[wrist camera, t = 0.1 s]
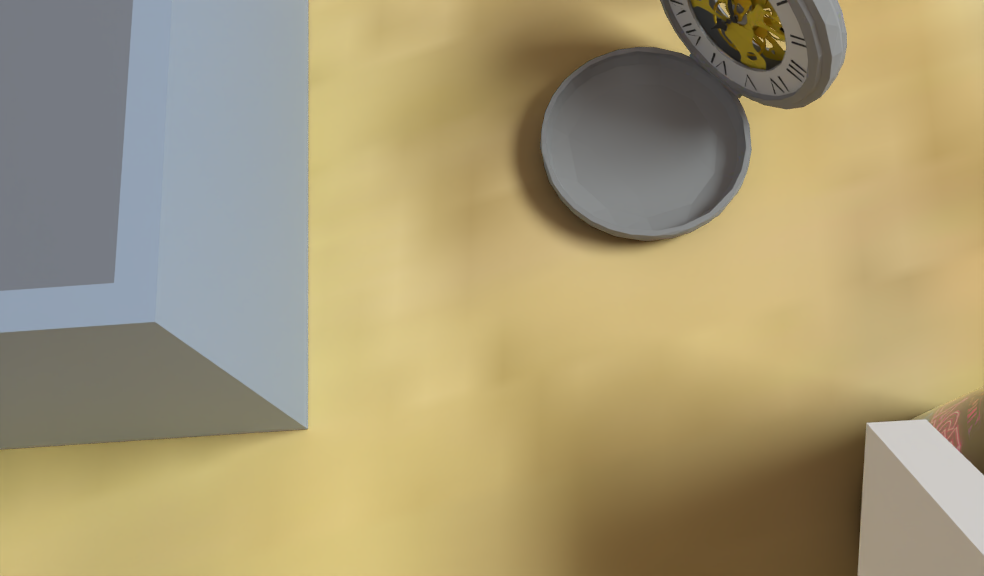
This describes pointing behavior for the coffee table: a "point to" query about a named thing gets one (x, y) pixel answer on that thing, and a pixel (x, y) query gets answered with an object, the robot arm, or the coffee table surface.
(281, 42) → the coin box
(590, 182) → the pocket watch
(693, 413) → the coffee table surface
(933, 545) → the robot arm
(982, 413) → the supplement container
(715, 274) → the coffee table surface
